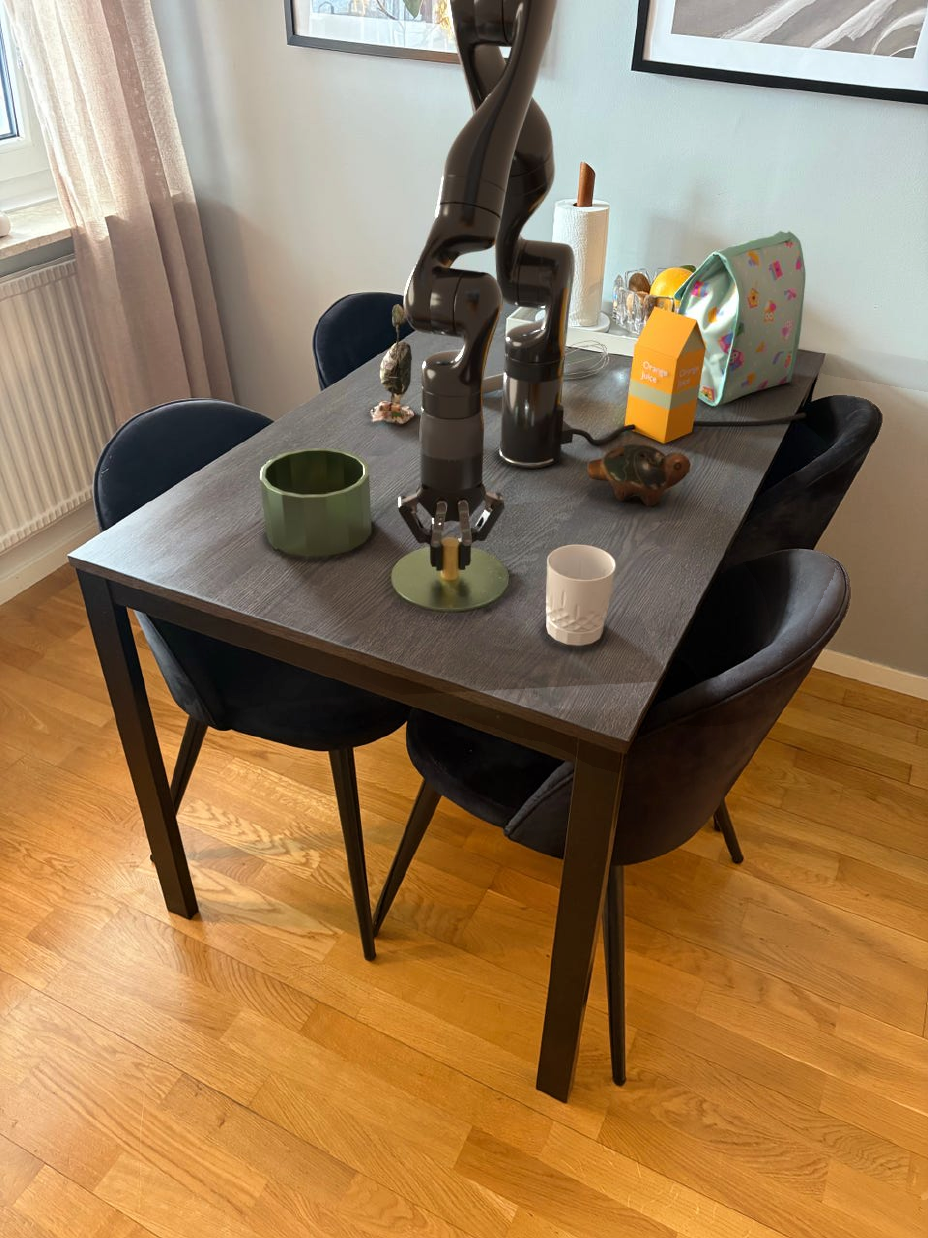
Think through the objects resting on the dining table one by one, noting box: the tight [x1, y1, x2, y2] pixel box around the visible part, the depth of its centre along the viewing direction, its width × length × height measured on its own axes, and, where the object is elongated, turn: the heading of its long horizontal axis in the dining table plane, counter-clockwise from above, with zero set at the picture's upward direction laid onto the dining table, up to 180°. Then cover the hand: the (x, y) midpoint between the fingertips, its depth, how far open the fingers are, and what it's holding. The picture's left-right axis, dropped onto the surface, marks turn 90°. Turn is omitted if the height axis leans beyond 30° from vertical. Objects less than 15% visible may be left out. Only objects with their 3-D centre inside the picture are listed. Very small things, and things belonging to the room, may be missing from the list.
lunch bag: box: [673, 230, 807, 407], centre depth 173 cm, size 23×16×27 cm
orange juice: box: [624, 306, 706, 444], centre depth 158 cm, size 8×9×20 cm
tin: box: [259, 447, 372, 558], centre depth 131 cm, size 14×14×10 cm
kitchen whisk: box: [483, 340, 610, 395], centre depth 178 cm, size 6×34×6 cm, turn 119°
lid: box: [390, 536, 510, 613], centre depth 122 cm, size 15×15×6 cm
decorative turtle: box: [586, 443, 691, 507], centre depth 142 cm, size 10×15×8 cm, turn 74°
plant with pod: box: [370, 304, 415, 426], centre depth 161 cm, size 8×11×20 cm
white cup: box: [545, 544, 617, 647], centre depth 113 cm, size 8×8×10 cm
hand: (450, 566), depth 123 cm, fingers closed on lid, 2 cm apart
